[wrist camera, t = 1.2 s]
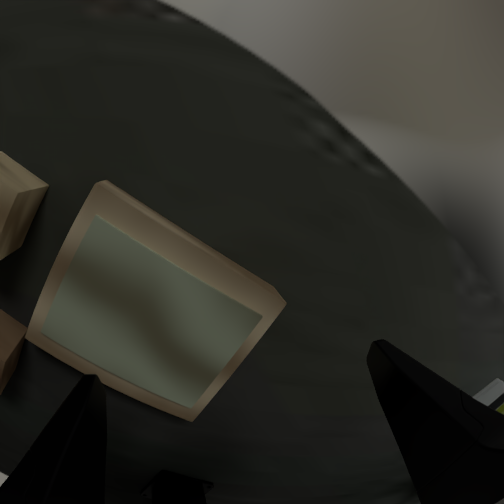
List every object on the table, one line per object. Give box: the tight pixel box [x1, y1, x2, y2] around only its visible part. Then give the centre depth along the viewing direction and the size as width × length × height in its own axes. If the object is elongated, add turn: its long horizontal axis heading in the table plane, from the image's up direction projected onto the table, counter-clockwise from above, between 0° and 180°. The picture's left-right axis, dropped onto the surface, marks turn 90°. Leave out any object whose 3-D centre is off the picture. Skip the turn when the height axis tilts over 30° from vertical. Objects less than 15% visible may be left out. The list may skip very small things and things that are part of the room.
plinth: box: [25, 180, 287, 422], centre depth 20 cm, size 12×14×3 cm
